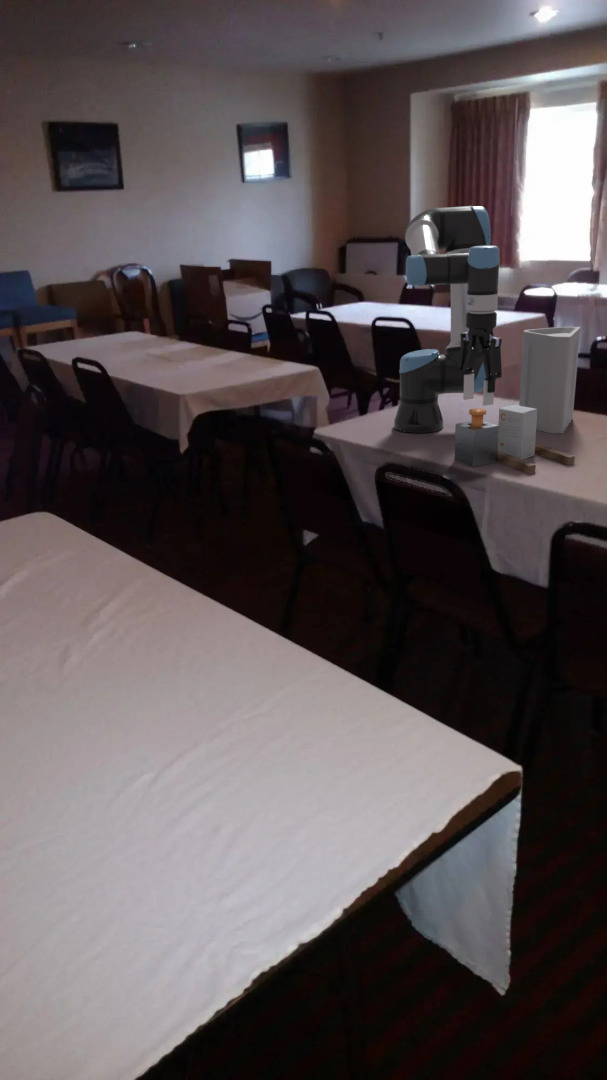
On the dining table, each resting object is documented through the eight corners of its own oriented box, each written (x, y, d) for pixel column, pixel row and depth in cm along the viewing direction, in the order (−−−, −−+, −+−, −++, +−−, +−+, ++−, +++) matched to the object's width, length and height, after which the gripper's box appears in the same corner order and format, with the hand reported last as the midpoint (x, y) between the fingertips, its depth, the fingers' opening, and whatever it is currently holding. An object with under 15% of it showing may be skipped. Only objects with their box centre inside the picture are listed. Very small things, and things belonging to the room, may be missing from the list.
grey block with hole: (454, 459, 217) (455, 423, 213) (478, 454, 220) (479, 419, 217) (472, 467, 211) (474, 430, 207) (497, 462, 214) (498, 425, 210)
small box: (535, 455, 217) (538, 408, 212) (520, 460, 214) (523, 413, 209) (510, 450, 223) (513, 403, 218) (496, 454, 220) (498, 408, 215)
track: (479, 454, 221) (480, 447, 220) (523, 445, 226) (523, 439, 226) (528, 473, 204) (529, 466, 203) (574, 463, 210) (574, 456, 209)
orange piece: (464, 435, 214) (465, 410, 211) (478, 432, 216) (479, 407, 213) (475, 438, 210) (476, 413, 208) (488, 436, 212) (489, 410, 209)
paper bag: (525, 415, 258) (530, 326, 247) (573, 418, 252) (580, 326, 241) (511, 430, 242) (517, 335, 232) (562, 433, 236) (570, 336, 225)
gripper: (445, 309, 208) (443, 396, 216) (495, 317, 190) (491, 411, 199) (468, 306, 211) (465, 393, 219) (520, 313, 193) (515, 407, 202)
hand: (478, 401), depth 209 cm, fingers open, 8 cm apart
